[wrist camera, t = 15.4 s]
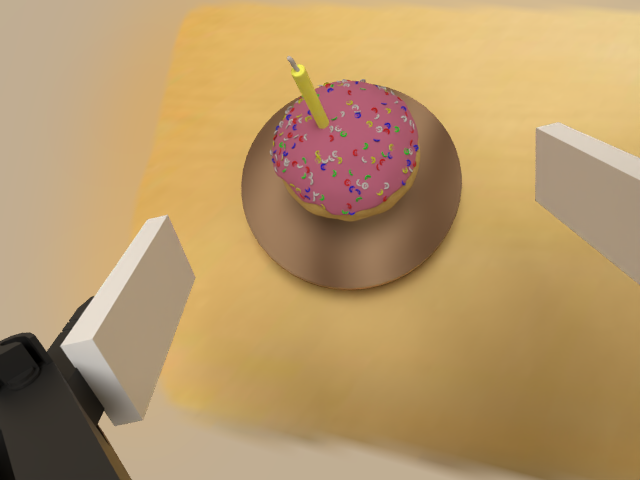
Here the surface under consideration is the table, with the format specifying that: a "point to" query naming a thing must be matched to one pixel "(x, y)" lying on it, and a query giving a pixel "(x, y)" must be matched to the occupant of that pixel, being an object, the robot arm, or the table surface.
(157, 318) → the robot arm
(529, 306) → the table surface
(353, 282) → the brown plate
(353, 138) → the cupcake
